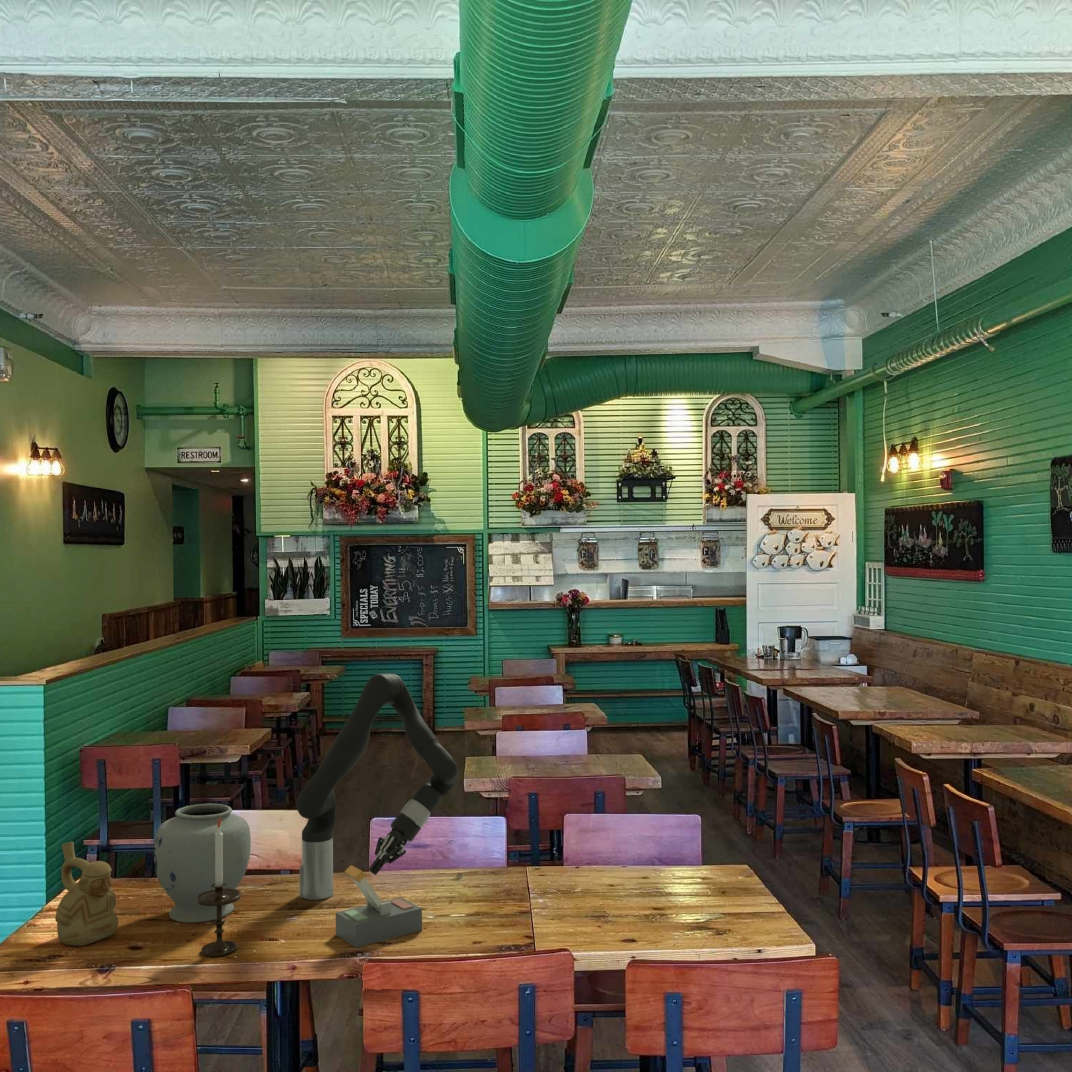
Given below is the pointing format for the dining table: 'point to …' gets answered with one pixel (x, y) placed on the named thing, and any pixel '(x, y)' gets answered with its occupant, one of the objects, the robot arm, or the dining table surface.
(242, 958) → the dining table surface
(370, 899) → the lever
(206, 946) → the candlestick
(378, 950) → the dining table surface
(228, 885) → the ceramic vase
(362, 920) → the switch box
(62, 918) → the ceramic vessel
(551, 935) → the dining table surface
